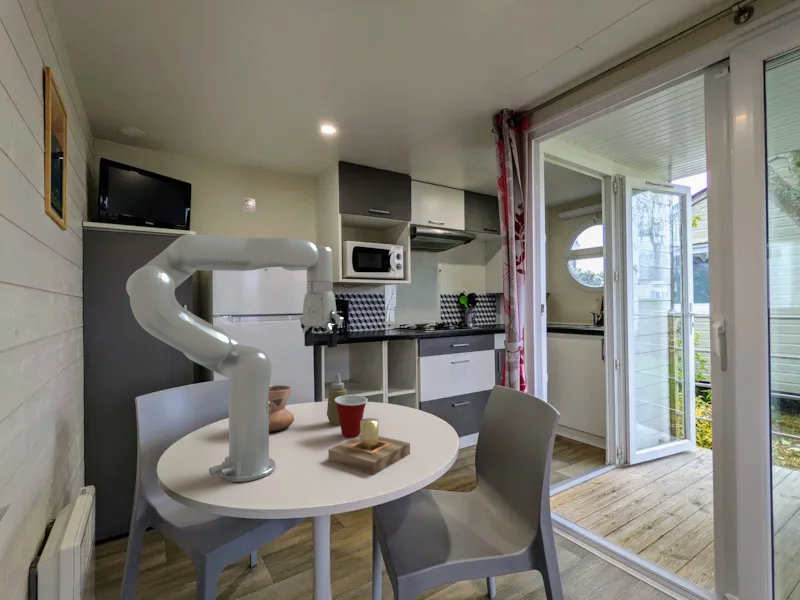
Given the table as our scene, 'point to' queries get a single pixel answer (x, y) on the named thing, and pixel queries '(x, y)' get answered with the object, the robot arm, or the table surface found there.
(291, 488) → the table surface
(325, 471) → the table surface
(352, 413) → the plastic cup
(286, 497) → the table surface
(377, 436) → the brass peg
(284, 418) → the ceramic jug
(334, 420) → the squeeze bottle
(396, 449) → the walnut plate
